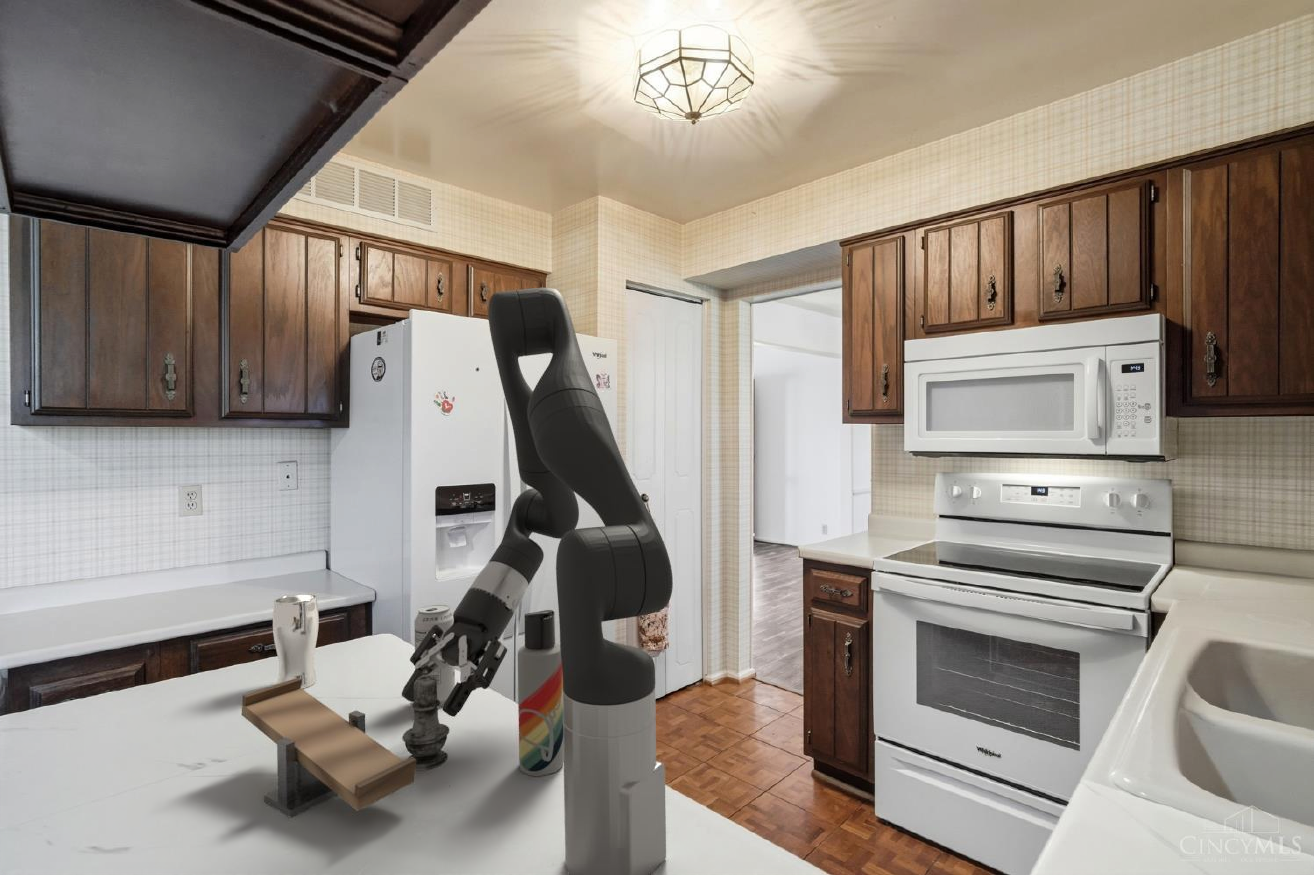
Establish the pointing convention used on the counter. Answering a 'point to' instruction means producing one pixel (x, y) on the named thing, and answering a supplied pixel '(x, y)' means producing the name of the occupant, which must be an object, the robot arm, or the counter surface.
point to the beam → (328, 744)
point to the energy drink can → (445, 676)
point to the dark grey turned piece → (426, 726)
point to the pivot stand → (300, 778)
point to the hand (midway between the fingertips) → (426, 706)
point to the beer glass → (296, 637)
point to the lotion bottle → (540, 697)
